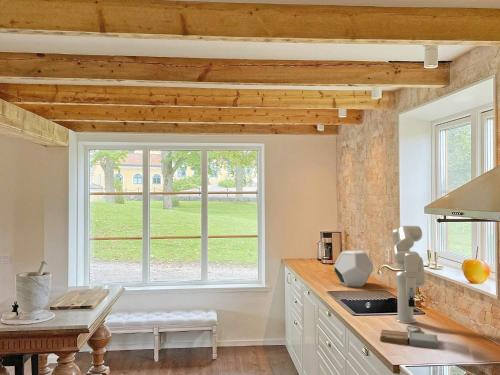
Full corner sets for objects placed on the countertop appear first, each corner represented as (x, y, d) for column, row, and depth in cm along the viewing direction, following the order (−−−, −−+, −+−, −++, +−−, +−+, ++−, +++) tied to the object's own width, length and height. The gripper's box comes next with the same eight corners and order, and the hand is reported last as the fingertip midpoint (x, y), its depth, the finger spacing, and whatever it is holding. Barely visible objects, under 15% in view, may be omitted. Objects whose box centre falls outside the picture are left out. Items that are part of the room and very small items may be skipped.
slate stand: (409, 337, 253) (409, 331, 253) (436, 340, 248) (436, 334, 248) (409, 345, 240) (409, 339, 240) (438, 348, 235) (438, 342, 235)
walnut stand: (381, 335, 258) (381, 329, 258) (407, 337, 254) (407, 332, 254) (380, 342, 245) (380, 336, 245) (407, 345, 240) (407, 339, 240)
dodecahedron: (380, 287, 389) (380, 252, 390) (341, 289, 383) (341, 254, 383) (363, 280, 422) (363, 248, 423) (327, 282, 416) (327, 249, 416)
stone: (403, 329, 267) (403, 324, 267) (418, 330, 267) (418, 324, 267) (411, 335, 255) (411, 329, 255) (427, 336, 255) (427, 330, 255)
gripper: (404, 272, 268) (405, 301, 268) (404, 276, 252) (404, 307, 252) (418, 272, 266) (418, 302, 265) (418, 277, 250) (418, 308, 249)
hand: (411, 304), depth 258 cm, fingers open, 9 cm apart
